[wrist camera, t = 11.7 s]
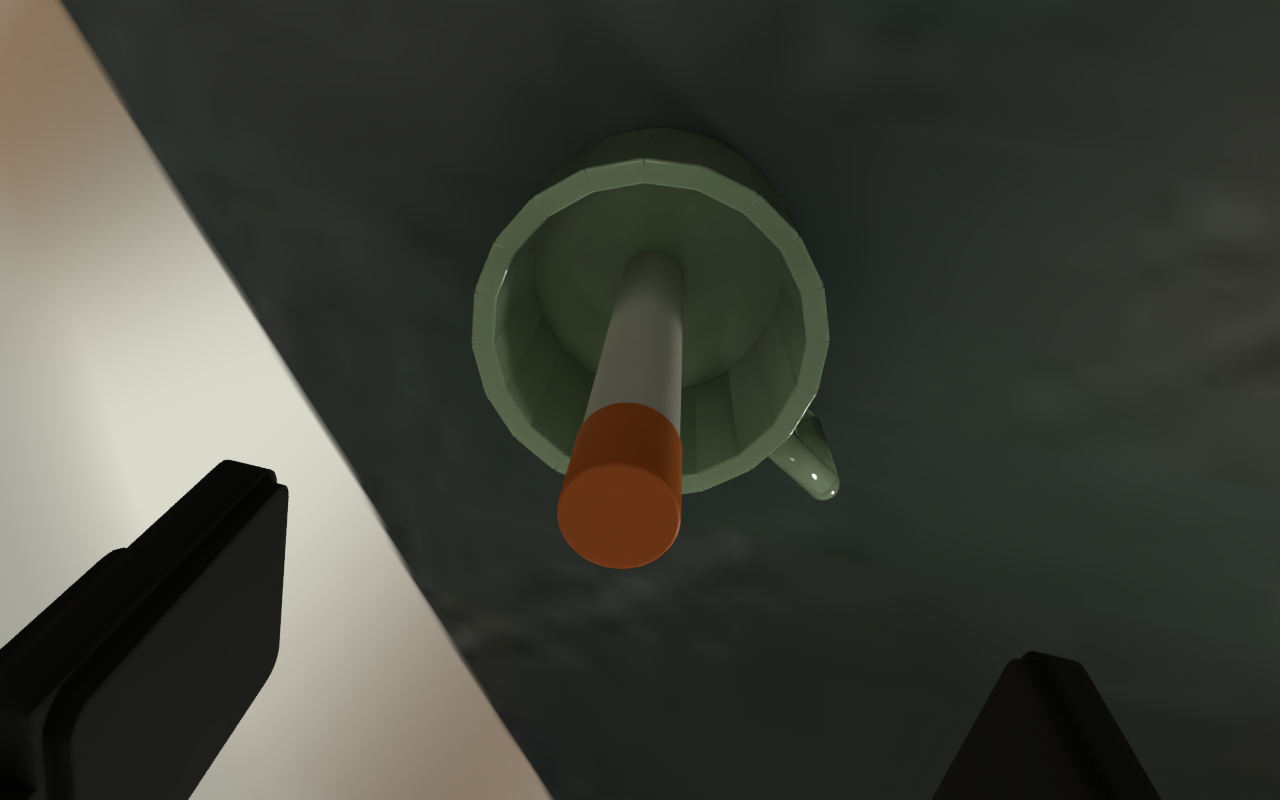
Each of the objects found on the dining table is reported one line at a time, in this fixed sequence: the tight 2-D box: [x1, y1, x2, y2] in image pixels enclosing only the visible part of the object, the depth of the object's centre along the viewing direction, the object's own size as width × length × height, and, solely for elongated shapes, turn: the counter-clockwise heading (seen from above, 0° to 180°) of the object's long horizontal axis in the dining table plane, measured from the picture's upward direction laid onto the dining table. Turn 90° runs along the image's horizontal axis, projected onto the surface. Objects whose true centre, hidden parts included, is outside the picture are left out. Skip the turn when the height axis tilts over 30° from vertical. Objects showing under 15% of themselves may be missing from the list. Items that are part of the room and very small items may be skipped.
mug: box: [472, 128, 840, 500], centre depth 25 cm, size 12×9×7 cm
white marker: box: [557, 251, 684, 569], centre depth 21 cm, size 2×2×14 cm
